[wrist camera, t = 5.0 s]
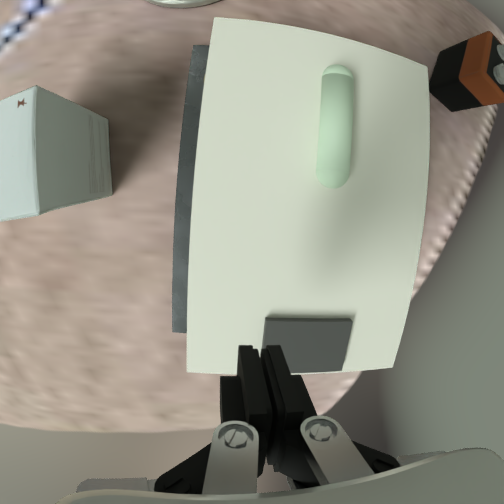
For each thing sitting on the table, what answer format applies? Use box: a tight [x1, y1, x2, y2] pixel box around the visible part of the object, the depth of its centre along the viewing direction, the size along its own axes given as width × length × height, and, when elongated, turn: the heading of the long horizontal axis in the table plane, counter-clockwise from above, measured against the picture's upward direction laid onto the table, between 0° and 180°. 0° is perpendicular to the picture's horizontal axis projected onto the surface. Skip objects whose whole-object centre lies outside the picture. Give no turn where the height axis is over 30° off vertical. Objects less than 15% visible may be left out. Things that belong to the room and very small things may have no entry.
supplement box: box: [0, 85, 113, 222], centre depth 18 cm, size 7×7×13 cm
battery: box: [429, 31, 504, 112], centre depth 21 cm, size 4×7×10 cm, turn 153°
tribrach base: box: [172, 45, 210, 333], centre depth 24 cm, size 26×20×6 cm
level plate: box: [187, 17, 430, 375], centre depth 19 cm, size 24×16×4 cm, turn 175°
